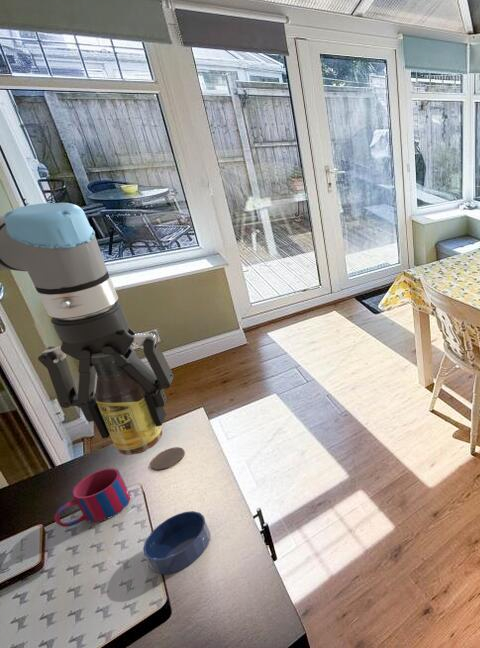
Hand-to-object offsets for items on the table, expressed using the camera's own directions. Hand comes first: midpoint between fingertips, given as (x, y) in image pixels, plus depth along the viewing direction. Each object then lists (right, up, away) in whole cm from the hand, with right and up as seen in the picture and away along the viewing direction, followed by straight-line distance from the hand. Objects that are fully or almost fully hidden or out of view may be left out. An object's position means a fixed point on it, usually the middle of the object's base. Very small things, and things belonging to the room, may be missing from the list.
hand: (135, 426), depth 70 cm
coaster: (-13, -16, +23) cm, 31 cm away
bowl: (+4, -24, +5) cm, 25 cm away
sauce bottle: (0, -4, +2) cm, 4 cm away
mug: (-17, -21, +11) cm, 29 cm away
